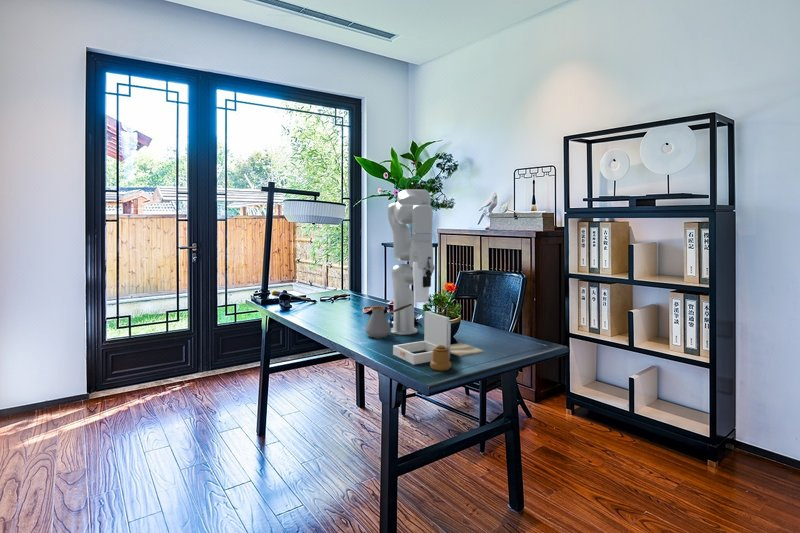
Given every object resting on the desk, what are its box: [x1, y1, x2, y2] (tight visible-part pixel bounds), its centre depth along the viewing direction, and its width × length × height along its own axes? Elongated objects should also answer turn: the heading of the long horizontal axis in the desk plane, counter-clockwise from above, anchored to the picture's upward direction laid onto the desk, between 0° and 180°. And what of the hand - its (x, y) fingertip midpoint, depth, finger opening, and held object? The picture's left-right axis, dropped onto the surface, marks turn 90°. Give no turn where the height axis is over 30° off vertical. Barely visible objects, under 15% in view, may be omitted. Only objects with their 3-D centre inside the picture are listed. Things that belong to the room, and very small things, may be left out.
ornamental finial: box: [429, 345, 452, 372], centre depth 167 cm, size 8×8×8 cm
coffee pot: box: [364, 304, 413, 339], centre depth 211 cm, size 21×12×15 cm, turn 85°
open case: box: [392, 310, 452, 366], centre depth 180 cm, size 16×16×16 cm
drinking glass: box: [413, 262, 430, 303], centre depth 179 cm, size 7×7×15 cm
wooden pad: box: [450, 342, 485, 358], centre depth 190 cm, size 14×12×1 cm
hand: (421, 285), depth 179 cm, fingers closed on drinking glass, 6 cm apart
